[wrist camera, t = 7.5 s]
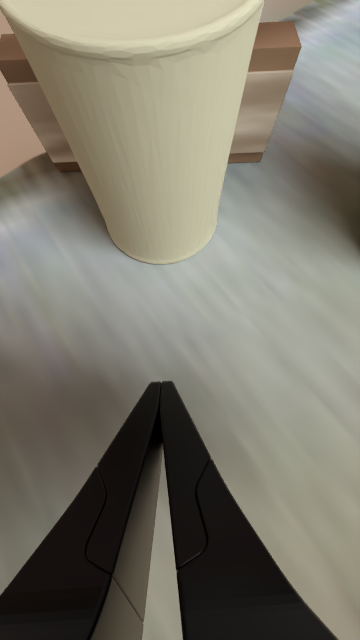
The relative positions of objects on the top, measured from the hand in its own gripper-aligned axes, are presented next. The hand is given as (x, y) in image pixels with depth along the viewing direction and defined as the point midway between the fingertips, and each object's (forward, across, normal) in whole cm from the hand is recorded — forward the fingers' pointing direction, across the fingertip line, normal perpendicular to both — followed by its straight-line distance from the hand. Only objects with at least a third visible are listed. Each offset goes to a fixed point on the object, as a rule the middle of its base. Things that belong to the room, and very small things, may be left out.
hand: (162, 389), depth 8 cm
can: (+14, 0, -5) cm, 15 cm away
